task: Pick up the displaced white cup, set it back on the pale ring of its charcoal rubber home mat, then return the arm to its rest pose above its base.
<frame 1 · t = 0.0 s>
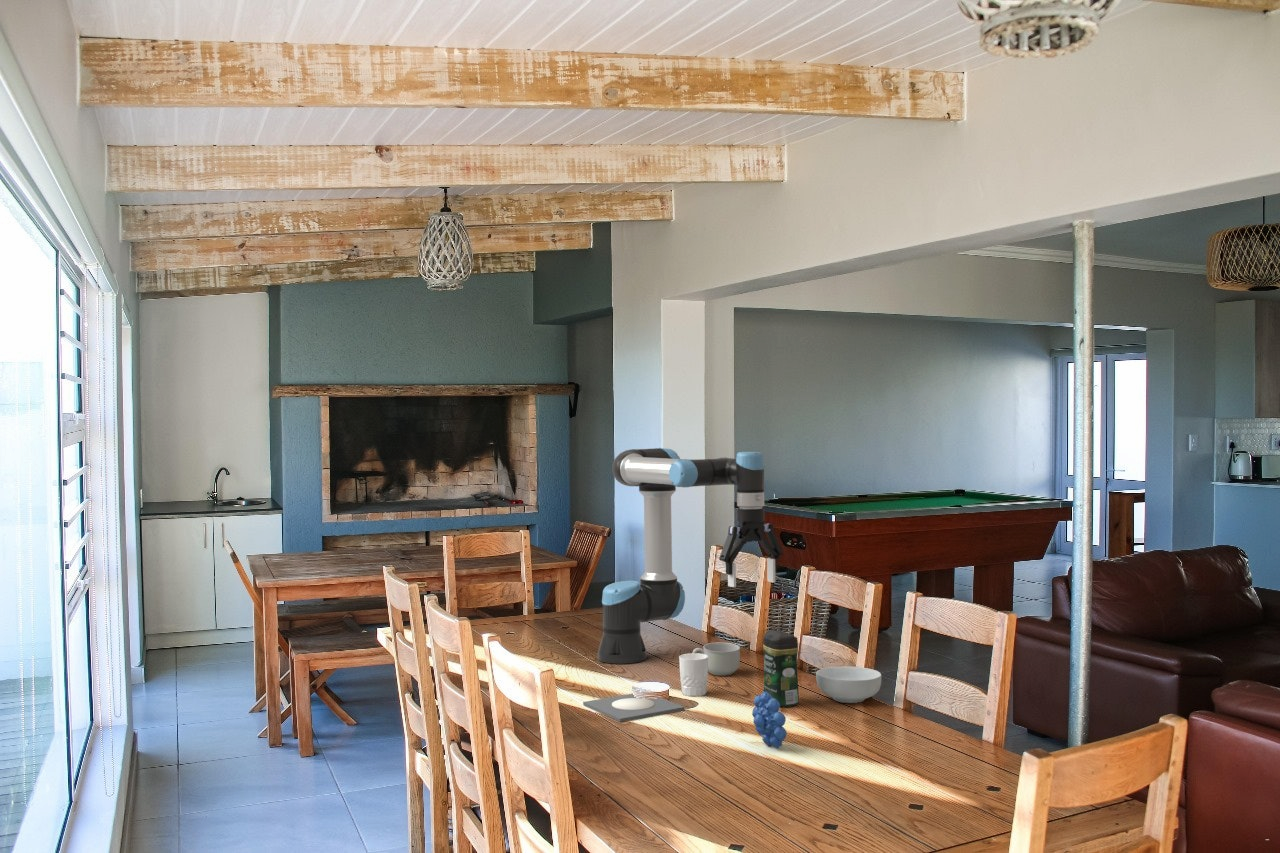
hand: (751, 584, 299), 28 cm above the table, tool pointing down, fingers open, 13 cm apart
home mat: (633, 707, 278), on the table
grapes: (766, 747, 244), on the table
white cup: (694, 694, 292), on the table
coffee jar: (781, 703, 280), on the table
cereal bowl: (848, 700, 283), on the table
teacup: (716, 674, 314), on the table
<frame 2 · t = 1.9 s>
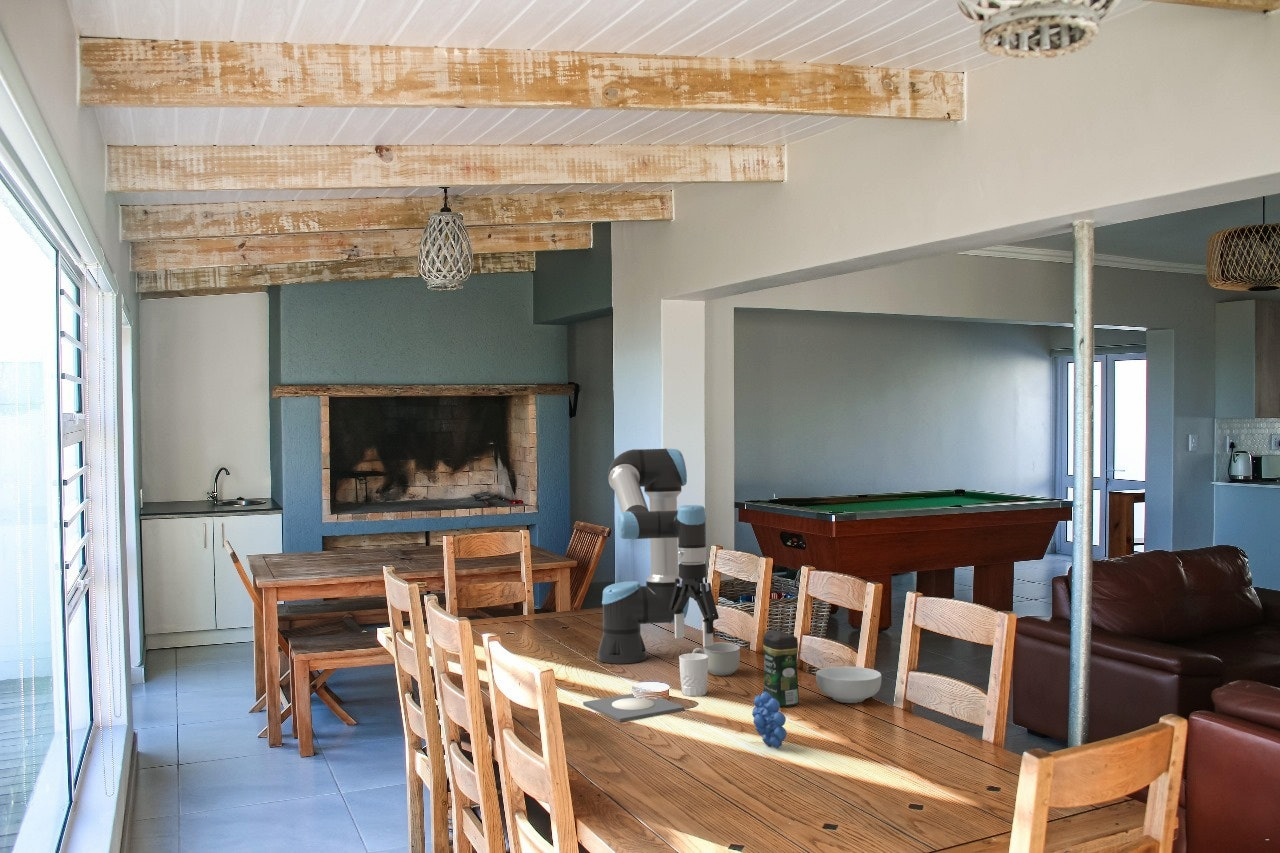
hand: (693, 641, 291), 14 cm above the table, tool pointing down, fingers open, 13 cm apart
nothing on the table moved.
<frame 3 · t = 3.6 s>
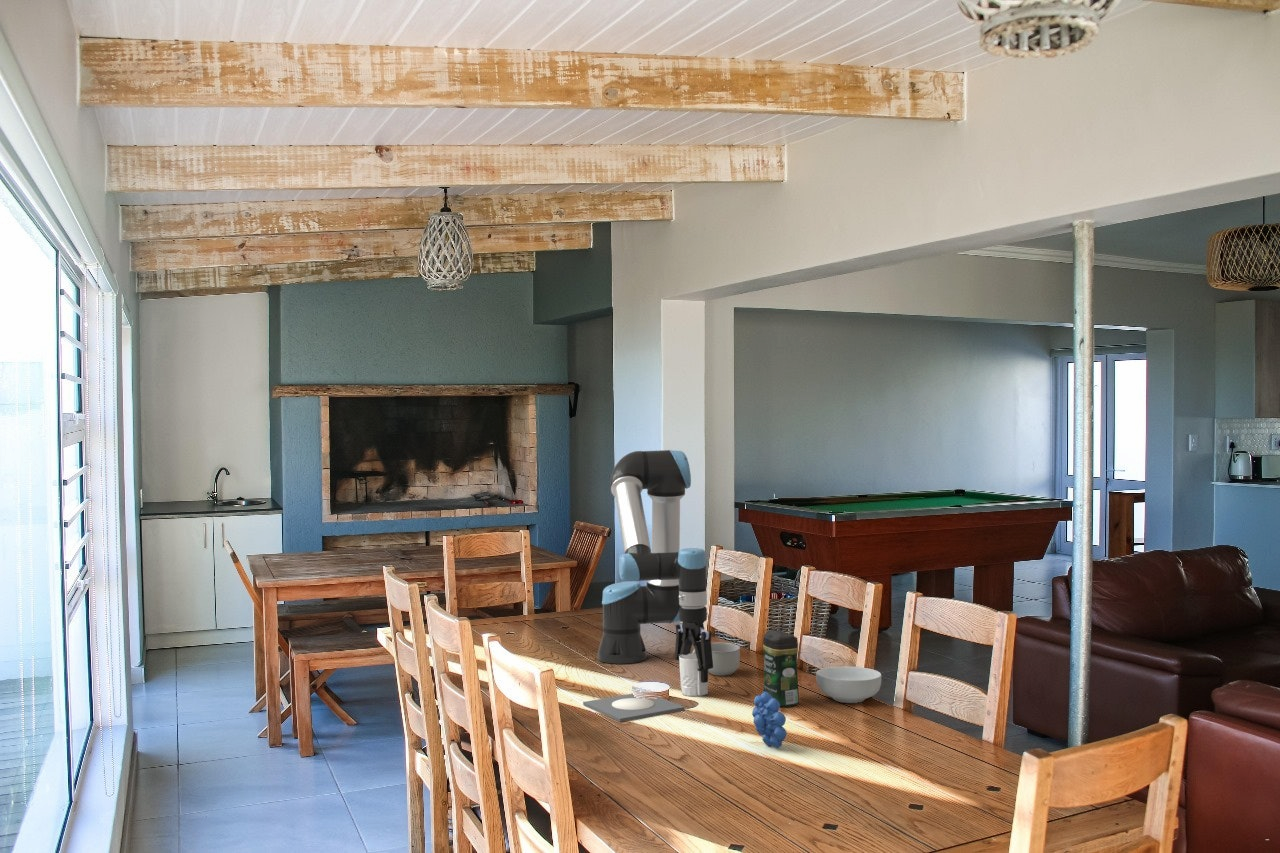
hand: (694, 690, 292), 1 cm above the table, tool pointing down, fingers closed on white cup, 7 cm apart
white cup: (694, 694, 292), on the table, touching gripper
everything else where it was.
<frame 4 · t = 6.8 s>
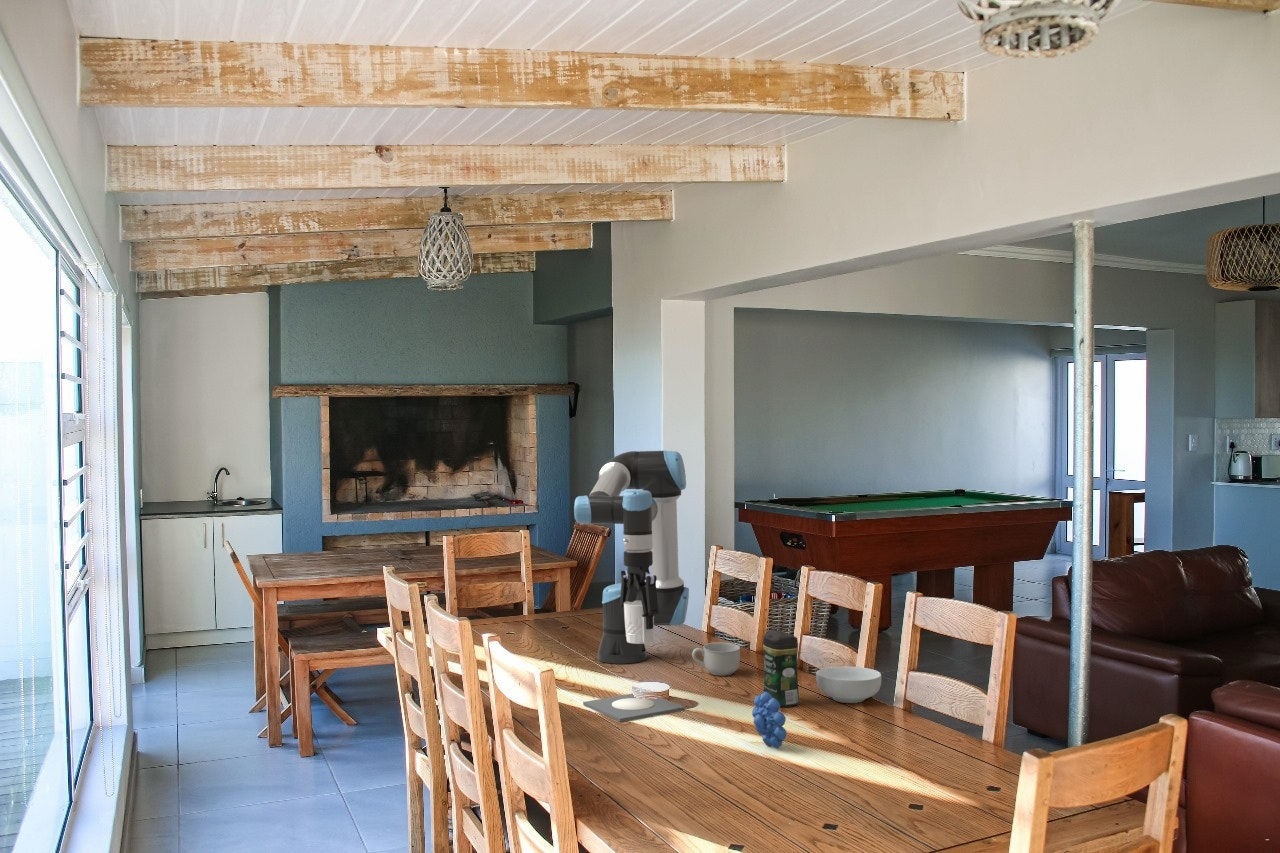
hand: (639, 638, 279), 17 cm above the table, tool pointing down, fingers closed on white cup, 7 cm apart
white cup: (639, 642, 279), point 17 cm above the table, touching gripper
everything else where it was.
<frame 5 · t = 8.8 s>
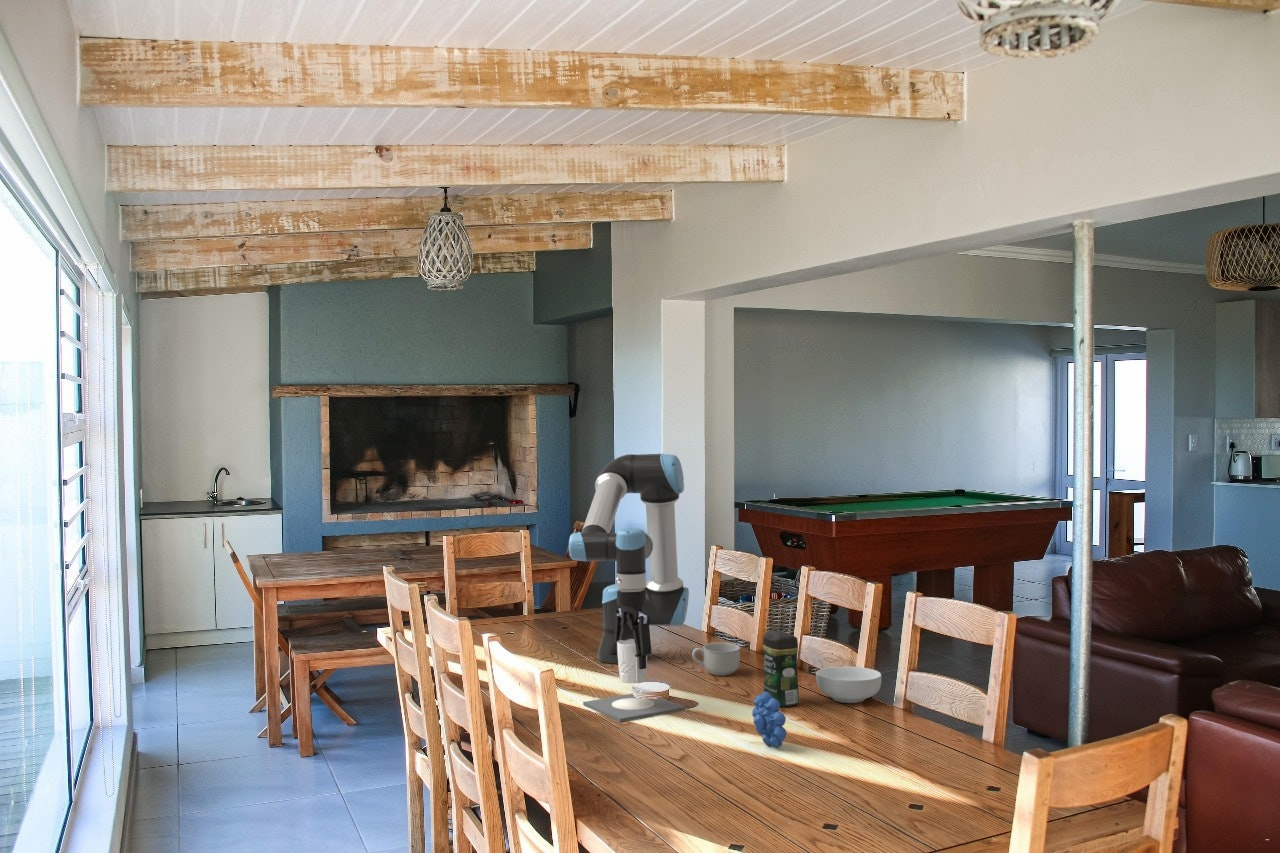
hand: (632, 677, 278), 8 cm above the table, tool pointing down, fingers closed on white cup, 7 cm apart
white cup: (632, 681, 278), point 7 cm above the table, touching gripper
everything else where it was.
when the fingers open (3 cm above the table, at t = 10.1 s): white cup drops 1 cm, resting on home mat.
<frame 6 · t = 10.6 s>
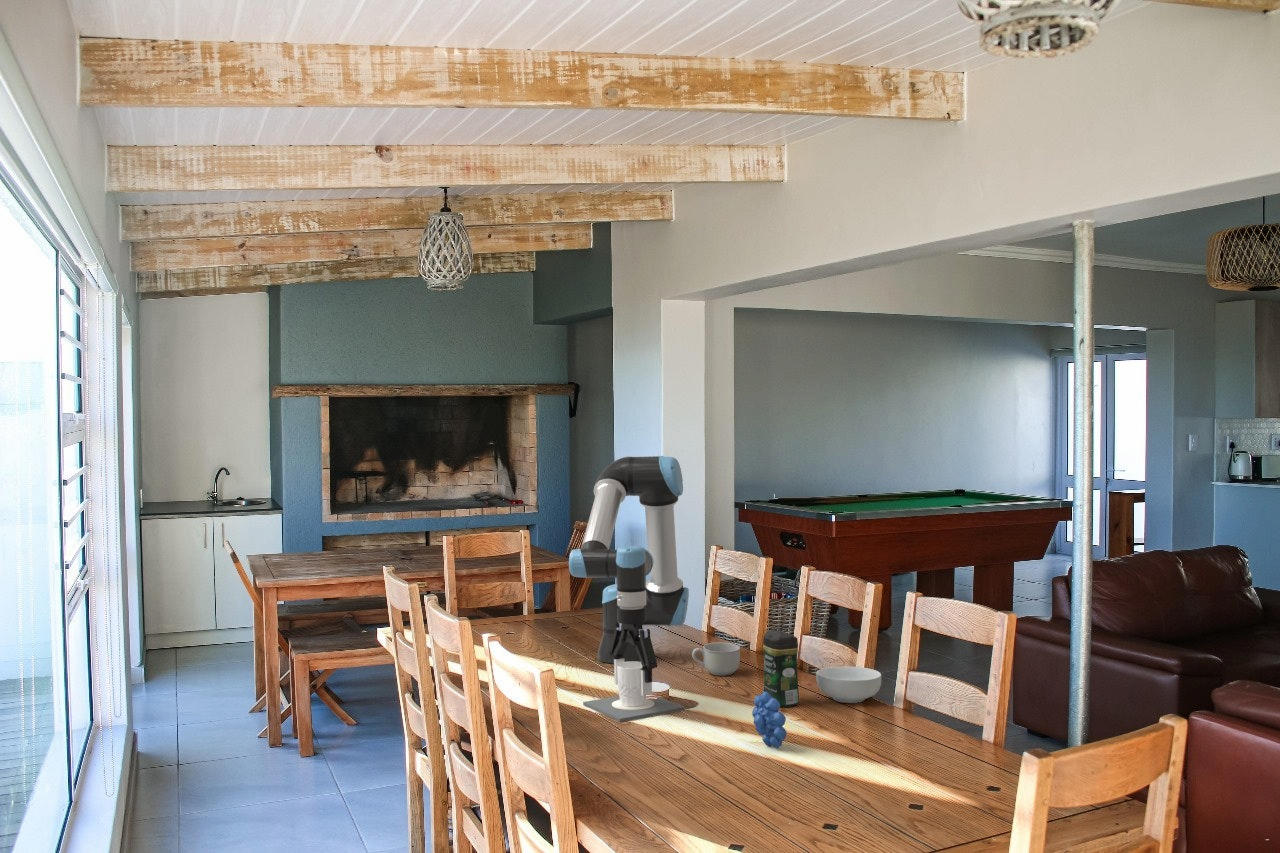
hand: (632, 689, 278), 5 cm above the table, tool pointing down, fingers open, 13 cm apart
white cup: (632, 704, 278), point 1 cm above the table, touching home mat
everything else where it was.
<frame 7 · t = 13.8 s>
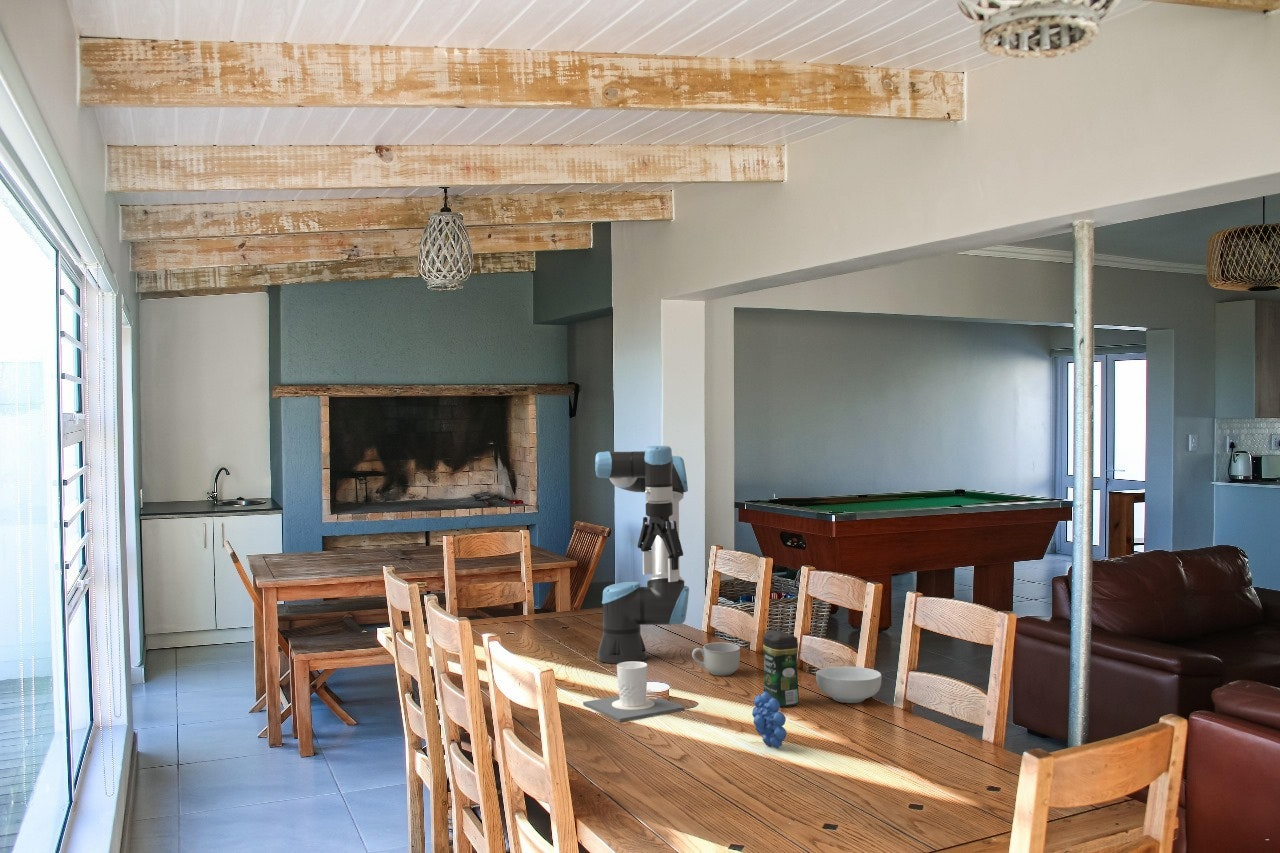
hand: (660, 577, 300), 30 cm above the table, tool pointing down, fingers open, 13 cm apart
nothing on the table moved.
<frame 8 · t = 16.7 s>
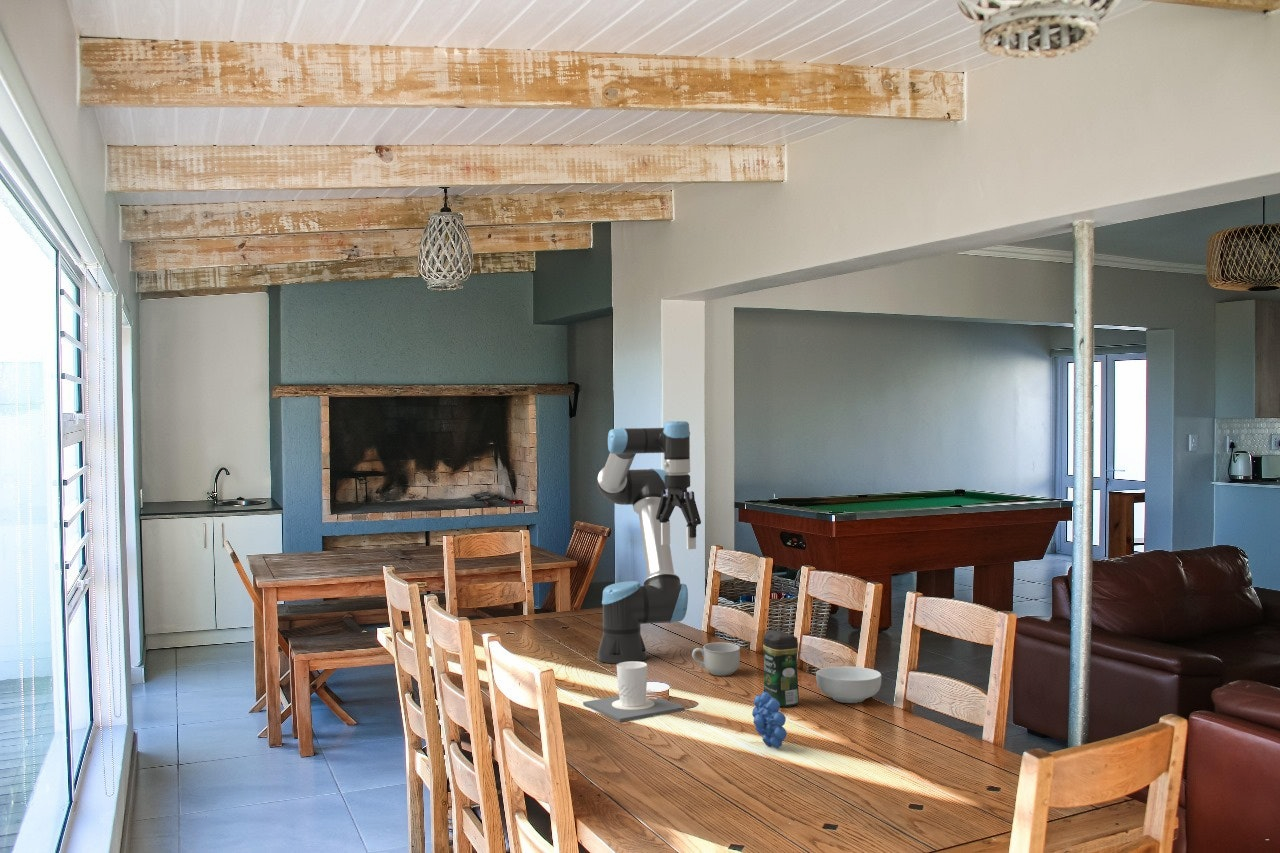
hand: (678, 546, 315), 37 cm above the table, tool pointing down, fingers open, 13 cm apart
nothing on the table moved.
at the end: white cup inside the target area on the home mat (0.2 cm from its centre), point 0.8 cm above the home mat's base; white cup tilted 0°; the gripper is holding nothing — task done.
